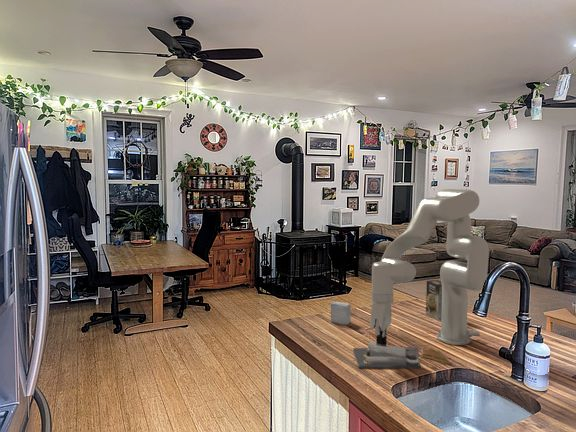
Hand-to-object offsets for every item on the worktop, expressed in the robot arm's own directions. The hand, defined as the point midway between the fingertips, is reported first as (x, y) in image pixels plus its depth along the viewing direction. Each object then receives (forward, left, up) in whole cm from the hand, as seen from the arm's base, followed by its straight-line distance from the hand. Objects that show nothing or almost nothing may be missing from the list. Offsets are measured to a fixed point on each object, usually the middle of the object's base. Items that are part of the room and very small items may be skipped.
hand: (381, 346), depth 146 cm
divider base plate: (-1, +2, -4) cm, 4 cm away
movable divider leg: (-3, +4, -2) cm, 5 cm away
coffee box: (-35, -45, -4) cm, 57 cm away
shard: (-20, -1, -4) cm, 21 cm away
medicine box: (+11, -36, -4) cm, 37 cm away
